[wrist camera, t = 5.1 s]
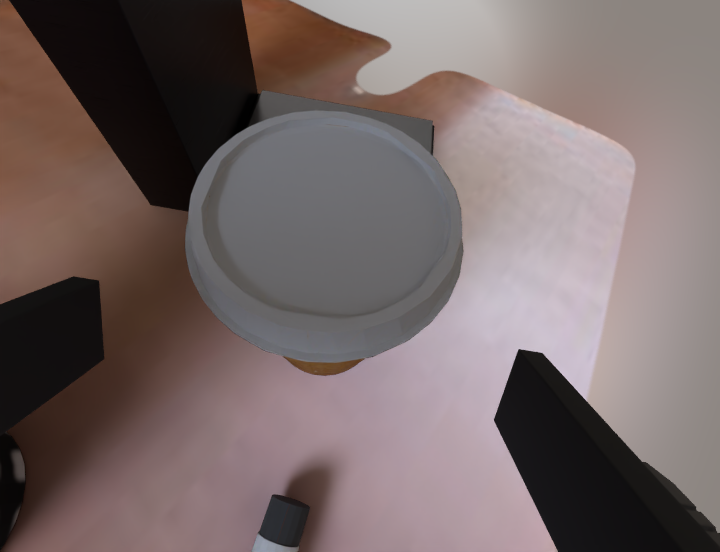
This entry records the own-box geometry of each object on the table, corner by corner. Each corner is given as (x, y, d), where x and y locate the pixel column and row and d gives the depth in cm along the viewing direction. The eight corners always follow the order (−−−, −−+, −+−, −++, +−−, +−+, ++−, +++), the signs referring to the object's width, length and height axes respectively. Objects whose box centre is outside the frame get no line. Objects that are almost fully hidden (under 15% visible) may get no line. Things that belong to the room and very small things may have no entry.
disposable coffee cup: (420, 383, 21) (526, 312, 10) (255, 423, 19) (171, 388, 8) (379, 248, 25) (424, 93, 14) (239, 270, 23) (169, 110, 12)
